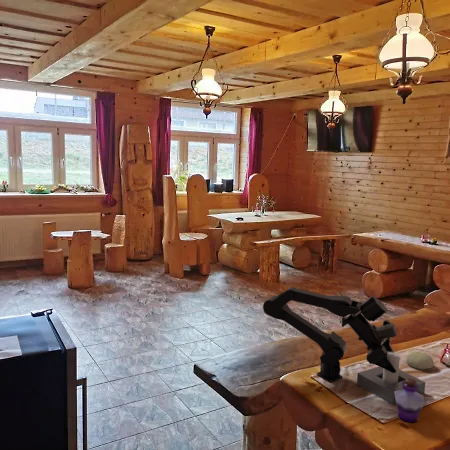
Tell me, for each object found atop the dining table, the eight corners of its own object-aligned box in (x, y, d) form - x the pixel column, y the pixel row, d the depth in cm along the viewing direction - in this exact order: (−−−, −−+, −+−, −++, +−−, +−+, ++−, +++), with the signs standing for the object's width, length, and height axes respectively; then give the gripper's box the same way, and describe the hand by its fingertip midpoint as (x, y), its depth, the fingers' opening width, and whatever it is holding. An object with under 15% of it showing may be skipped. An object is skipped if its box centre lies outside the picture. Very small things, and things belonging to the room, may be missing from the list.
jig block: (356, 384, 151) (357, 372, 151) (387, 374, 158) (388, 363, 158) (392, 405, 138) (393, 393, 138) (424, 393, 146) (425, 382, 145)
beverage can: (400, 389, 148) (402, 355, 146) (392, 393, 145) (394, 359, 143) (386, 383, 152) (389, 350, 150) (379, 388, 149) (381, 353, 147)
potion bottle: (397, 406, 137) (400, 370, 136) (427, 417, 132) (430, 379, 130) (387, 418, 131) (390, 380, 129) (418, 430, 125) (421, 390, 124)
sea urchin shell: (407, 352, 173) (424, 342, 169) (421, 370, 170) (438, 360, 166) (401, 360, 165) (418, 350, 161) (415, 379, 163) (433, 369, 159)
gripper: (379, 324, 138) (415, 365, 135) (384, 306, 155) (416, 342, 152) (352, 344, 142) (386, 383, 139) (359, 324, 159) (390, 360, 156)
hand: (396, 366), depth 147 cm, fingers open, 9 cm apart
